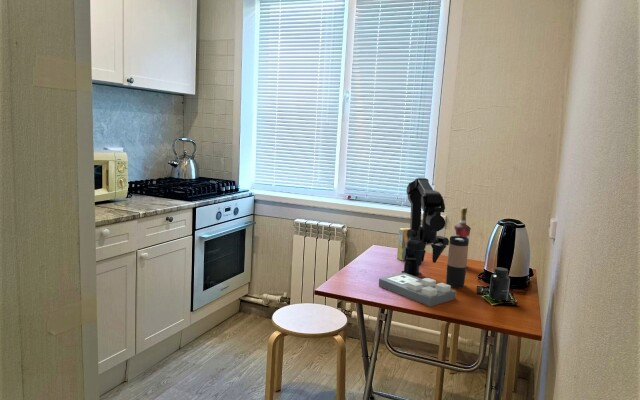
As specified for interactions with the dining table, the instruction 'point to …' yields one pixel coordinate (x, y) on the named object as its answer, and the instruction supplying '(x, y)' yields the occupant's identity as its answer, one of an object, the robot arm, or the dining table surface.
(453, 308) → the dining table surface
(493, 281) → the supplement bottle
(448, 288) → the button
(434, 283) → the button
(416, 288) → the button
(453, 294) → the button board
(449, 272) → the travel mug
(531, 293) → the dining table surface
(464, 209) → the liquor
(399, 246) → the candy box
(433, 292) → the button
